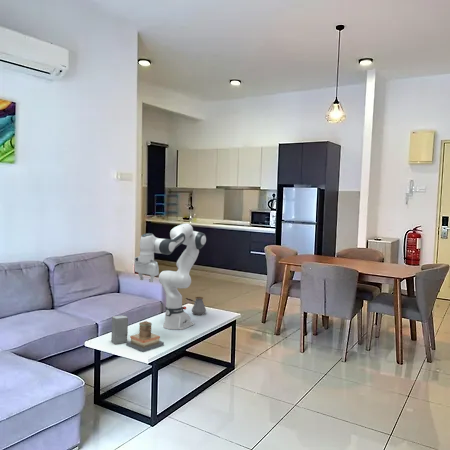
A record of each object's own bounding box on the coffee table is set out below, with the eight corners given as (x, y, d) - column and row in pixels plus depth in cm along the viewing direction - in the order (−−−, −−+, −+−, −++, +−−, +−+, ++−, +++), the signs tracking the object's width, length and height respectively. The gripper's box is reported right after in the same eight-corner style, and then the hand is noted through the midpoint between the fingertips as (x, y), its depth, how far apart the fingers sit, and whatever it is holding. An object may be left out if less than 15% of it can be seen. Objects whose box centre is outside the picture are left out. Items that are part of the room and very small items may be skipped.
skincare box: (115, 344, 252) (115, 319, 251) (110, 341, 258) (111, 316, 257) (128, 342, 257) (128, 317, 256) (123, 339, 263) (124, 314, 262)
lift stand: (147, 339, 264) (147, 329, 263) (163, 345, 253) (164, 335, 253) (126, 345, 252) (126, 335, 251) (142, 352, 241) (143, 342, 241)
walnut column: (145, 333, 256) (146, 321, 255) (151, 335, 252) (151, 322, 252) (139, 335, 252) (139, 322, 251) (144, 337, 248) (144, 324, 248)
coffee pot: (198, 311, 335) (198, 292, 334) (209, 313, 328) (209, 295, 327) (179, 316, 319) (179, 296, 318) (190, 319, 311) (190, 299, 310)
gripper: (161, 260, 258) (160, 282, 259) (140, 257, 271) (140, 278, 272) (153, 261, 253) (153, 284, 254) (132, 257, 266) (132, 279, 267)
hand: (146, 280), depth 263 cm, fingers open, 8 cm apart
